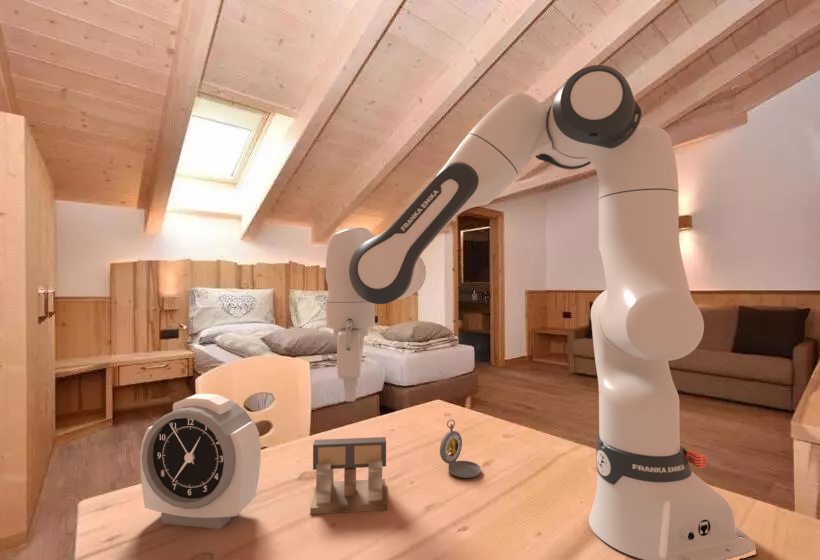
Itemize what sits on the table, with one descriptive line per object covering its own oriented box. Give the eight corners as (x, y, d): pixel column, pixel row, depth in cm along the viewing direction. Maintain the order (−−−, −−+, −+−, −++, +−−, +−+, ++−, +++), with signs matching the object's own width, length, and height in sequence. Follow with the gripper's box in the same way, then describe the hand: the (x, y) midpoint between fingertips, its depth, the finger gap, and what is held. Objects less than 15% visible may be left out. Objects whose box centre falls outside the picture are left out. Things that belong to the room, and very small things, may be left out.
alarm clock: (132, 527, 64) (134, 400, 65) (171, 499, 73) (172, 387, 73) (237, 537, 62) (238, 405, 62) (264, 506, 70) (265, 391, 70)
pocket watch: (480, 481, 79) (480, 430, 80) (438, 477, 81) (438, 427, 81) (481, 463, 87) (481, 417, 88) (442, 460, 89) (442, 415, 89)
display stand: (384, 484, 78) (384, 445, 78) (387, 509, 69) (387, 466, 69) (317, 487, 77) (317, 448, 77) (310, 514, 68) (310, 469, 68)
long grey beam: (385, 460, 75) (385, 437, 75) (386, 466, 73) (386, 442, 73) (314, 463, 74) (314, 439, 74) (312, 470, 71) (313, 445, 71)
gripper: (367, 321, 64) (369, 409, 63) (367, 313, 84) (368, 379, 84) (327, 322, 63) (328, 411, 63) (337, 314, 83) (338, 380, 83)
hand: (351, 393), depth 73 cm, fingers open, 8 cm apart
